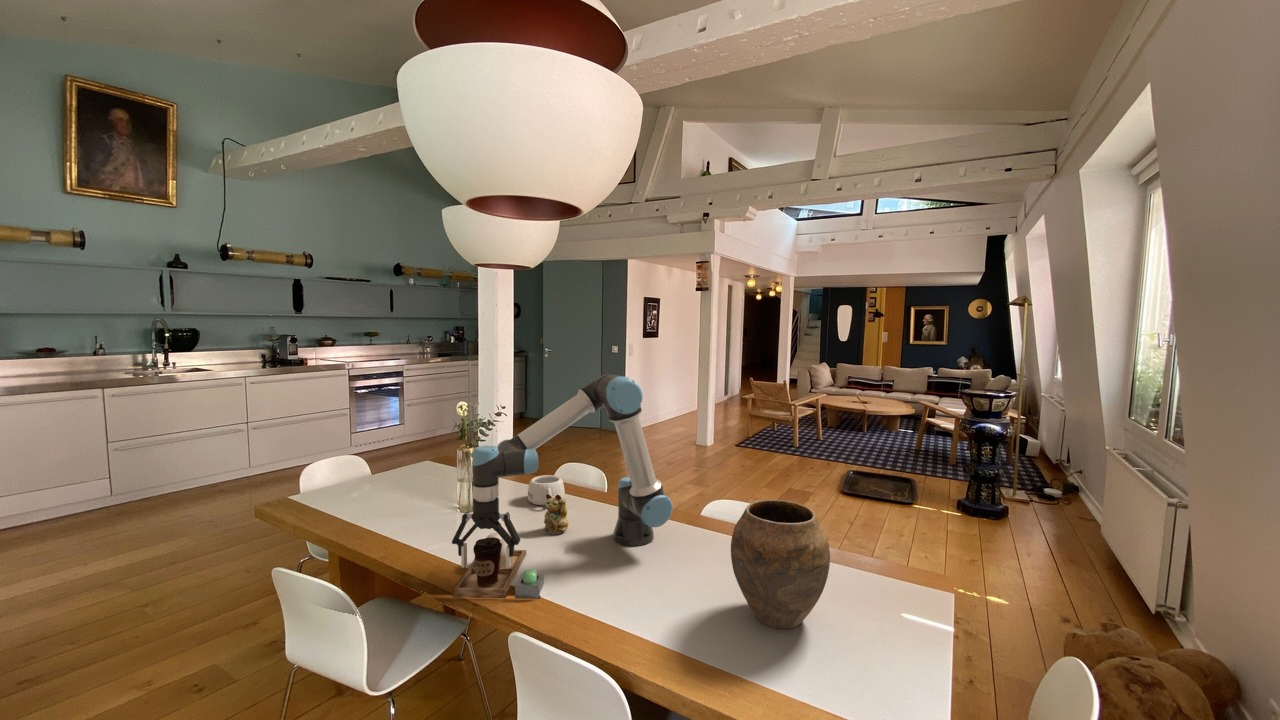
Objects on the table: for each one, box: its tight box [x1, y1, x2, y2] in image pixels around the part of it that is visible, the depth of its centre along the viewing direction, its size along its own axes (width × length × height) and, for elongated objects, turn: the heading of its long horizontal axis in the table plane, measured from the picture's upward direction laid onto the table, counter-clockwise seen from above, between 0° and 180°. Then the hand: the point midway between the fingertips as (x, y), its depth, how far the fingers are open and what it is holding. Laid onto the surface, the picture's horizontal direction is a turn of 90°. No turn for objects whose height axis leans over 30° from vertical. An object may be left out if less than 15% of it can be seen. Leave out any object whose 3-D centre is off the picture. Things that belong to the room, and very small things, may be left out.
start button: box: [522, 569, 538, 583], centre depth 154 cm, size 4×4×5 cm
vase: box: [730, 499, 831, 630], centre depth 142 cm, size 26×26×30 cm
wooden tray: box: [453, 549, 527, 599], centre depth 165 cm, size 15×27×2 cm, turn 179°
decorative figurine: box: [543, 494, 569, 535], centre depth 201 cm, size 10×8×15 cm
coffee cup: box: [472, 537, 502, 587], centre depth 158 cm, size 9×8×13 cm
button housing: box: [514, 573, 545, 600], centre depth 155 cm, size 7×7×4 cm
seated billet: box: [486, 532, 510, 568], centre depth 171 cm, size 8×8×9 cm
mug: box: [527, 474, 566, 507], centre depth 233 cm, size 21×17×10 cm
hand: (486, 566), depth 158 cm, fingers open, 13 cm apart
